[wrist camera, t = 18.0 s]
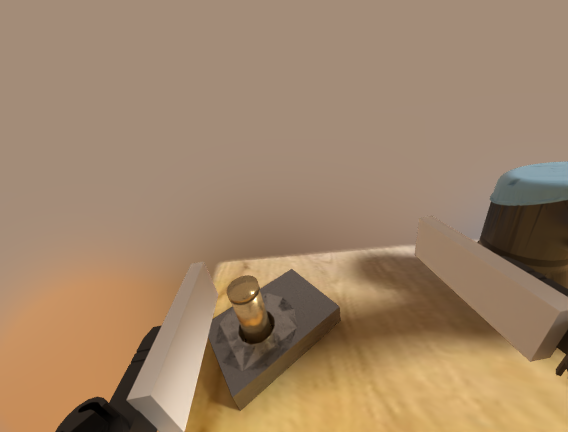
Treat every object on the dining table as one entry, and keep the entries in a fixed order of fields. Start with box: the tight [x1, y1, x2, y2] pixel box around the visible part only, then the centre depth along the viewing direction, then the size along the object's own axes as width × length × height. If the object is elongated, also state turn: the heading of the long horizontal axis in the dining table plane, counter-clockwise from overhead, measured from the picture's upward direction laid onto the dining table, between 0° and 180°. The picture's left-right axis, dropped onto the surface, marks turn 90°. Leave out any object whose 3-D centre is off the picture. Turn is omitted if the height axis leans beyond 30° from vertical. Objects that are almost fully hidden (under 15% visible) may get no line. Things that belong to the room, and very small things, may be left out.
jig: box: [208, 269, 341, 411], centre depth 41 cm, size 22×15×4 cm
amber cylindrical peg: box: [227, 276, 272, 345], centre depth 38 cm, size 5×5×14 cm
